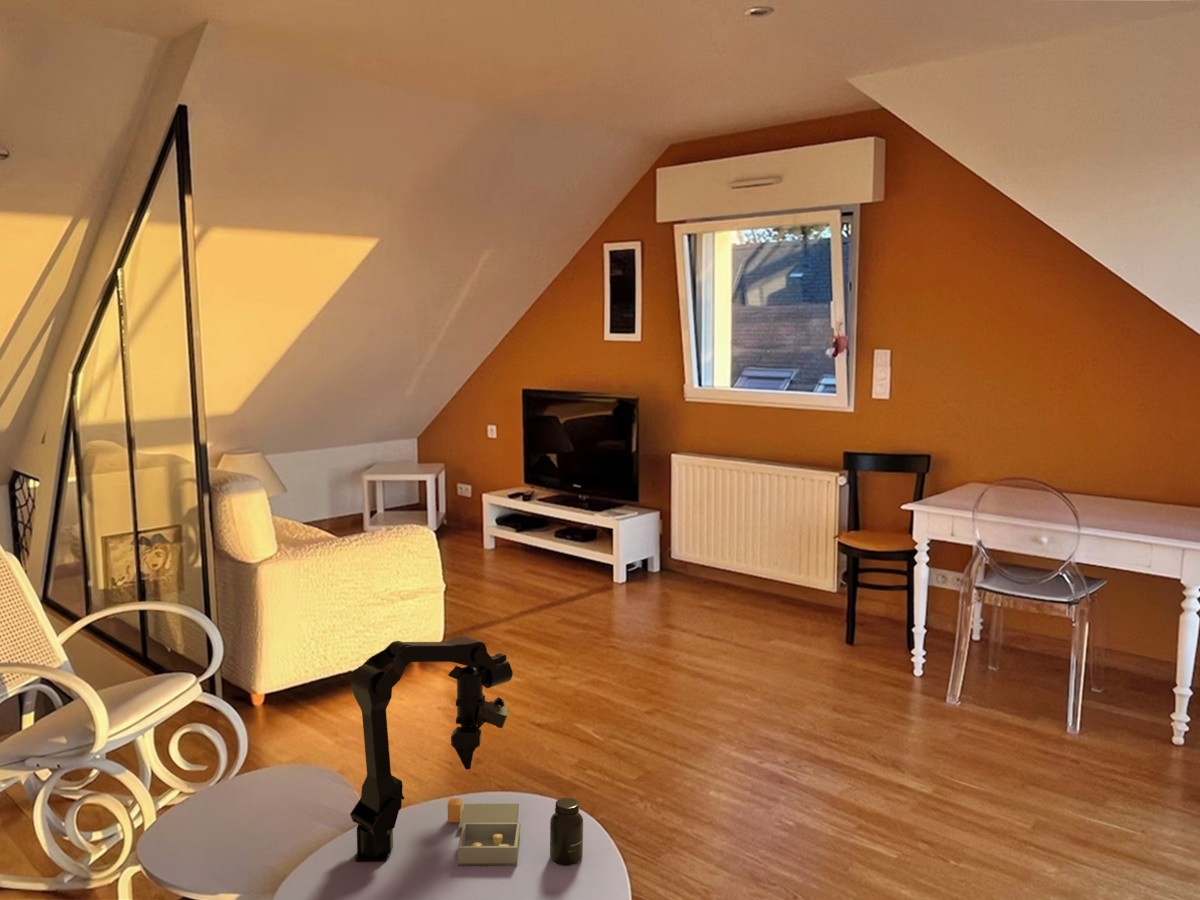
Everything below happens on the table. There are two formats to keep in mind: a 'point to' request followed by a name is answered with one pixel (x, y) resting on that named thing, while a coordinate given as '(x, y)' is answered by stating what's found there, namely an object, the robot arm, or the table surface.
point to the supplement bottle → (566, 833)
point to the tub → (489, 844)
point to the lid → (481, 813)
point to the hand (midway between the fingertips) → (470, 759)
